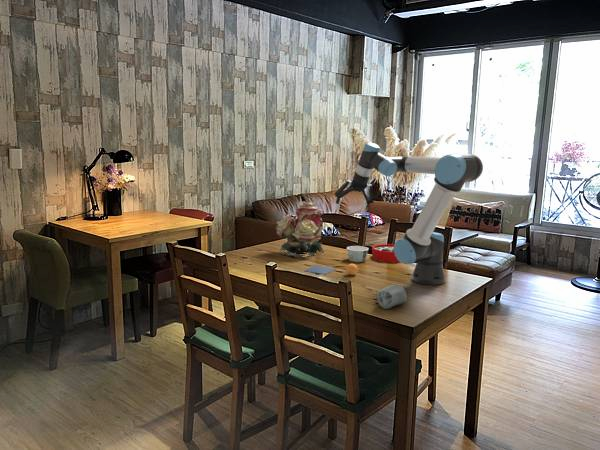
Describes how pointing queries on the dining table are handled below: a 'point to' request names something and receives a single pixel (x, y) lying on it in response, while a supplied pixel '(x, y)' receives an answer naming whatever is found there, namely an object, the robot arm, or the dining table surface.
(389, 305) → the spool
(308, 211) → the rose bouquet
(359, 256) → the food container
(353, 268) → the ball
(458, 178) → the robot arm
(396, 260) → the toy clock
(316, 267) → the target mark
